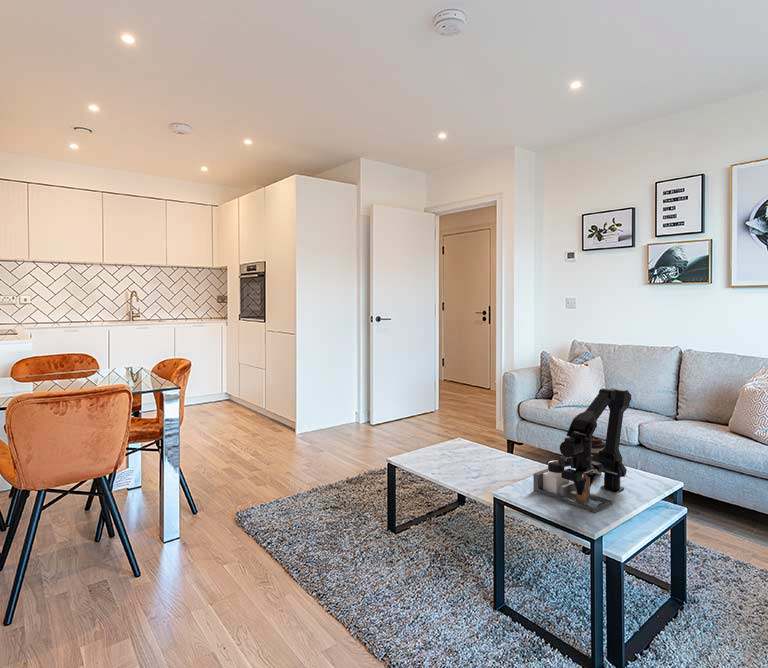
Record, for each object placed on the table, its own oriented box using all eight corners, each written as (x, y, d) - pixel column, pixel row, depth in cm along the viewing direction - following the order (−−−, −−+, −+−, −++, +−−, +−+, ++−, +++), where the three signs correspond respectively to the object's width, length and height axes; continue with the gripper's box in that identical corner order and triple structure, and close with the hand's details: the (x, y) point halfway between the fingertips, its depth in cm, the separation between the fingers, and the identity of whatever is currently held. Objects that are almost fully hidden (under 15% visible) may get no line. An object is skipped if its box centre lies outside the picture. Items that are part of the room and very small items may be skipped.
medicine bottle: (569, 493, 189) (570, 463, 188) (555, 497, 186) (556, 466, 185) (556, 487, 195) (556, 458, 194) (542, 490, 192) (542, 460, 191)
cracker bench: (551, 484, 199) (551, 467, 198) (612, 504, 178) (612, 485, 178) (533, 491, 192) (533, 473, 191) (594, 513, 171) (594, 493, 171)
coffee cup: (588, 467, 218) (588, 433, 217) (609, 473, 210) (610, 438, 209) (575, 472, 212) (575, 437, 211) (596, 478, 204) (597, 442, 203)
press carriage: (572, 492, 189) (572, 467, 189) (593, 499, 182) (593, 474, 182) (559, 497, 184) (559, 472, 184) (580, 505, 177) (580, 479, 177)
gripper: (577, 442, 192) (577, 481, 193) (548, 451, 181) (548, 493, 182) (604, 449, 183) (604, 490, 184) (575, 459, 172) (575, 502, 173)
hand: (582, 493), depth 181 cm, fingers closed on press carriage, 3 cm apart
